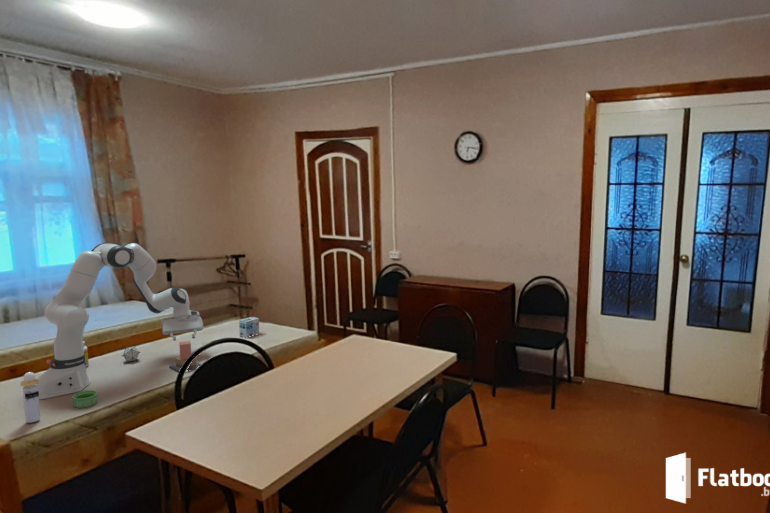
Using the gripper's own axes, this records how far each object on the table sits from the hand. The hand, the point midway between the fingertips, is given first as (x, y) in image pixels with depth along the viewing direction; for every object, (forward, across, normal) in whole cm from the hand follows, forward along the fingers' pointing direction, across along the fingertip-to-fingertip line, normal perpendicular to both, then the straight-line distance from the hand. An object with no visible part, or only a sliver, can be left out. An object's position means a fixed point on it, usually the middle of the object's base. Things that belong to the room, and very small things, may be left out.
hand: (184, 339), depth 251 cm
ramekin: (+36, -41, -19) cm, 58 cm away
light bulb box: (-14, +39, +31) cm, 52 cm away
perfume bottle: (+43, -58, -26) cm, 76 cm away
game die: (+1, -26, +16) cm, 30 cm away
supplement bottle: (0, -48, +17) cm, 51 cm away
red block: (+12, 0, -3) cm, 13 cm away
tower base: (+16, 0, +1) cm, 16 cm away
